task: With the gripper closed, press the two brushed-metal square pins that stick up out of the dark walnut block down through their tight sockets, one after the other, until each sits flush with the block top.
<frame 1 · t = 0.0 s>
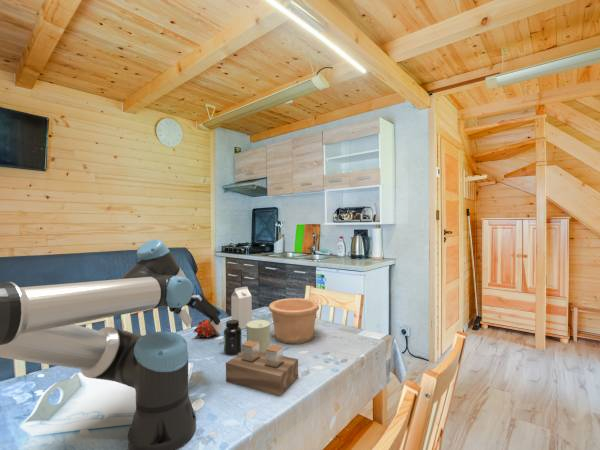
hand: (204, 326, 107), 15 cm above the table, tool tilted 35°, fingers open, 13 cm apart
socket block: (262, 379, 101), on the table
supplement bottle: (232, 352, 122), on the table
left pin: (250, 351, 103), point 8 cm above the table, slide at 5.0 cm
can: (258, 353, 121), on the table
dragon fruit: (207, 337, 138), on the table
right pin: (274, 356, 99), point 8 cm above the table, slide at 5.0 cm
milk carton: (241, 326, 151), on the table
pottery: (294, 337, 137), on the table
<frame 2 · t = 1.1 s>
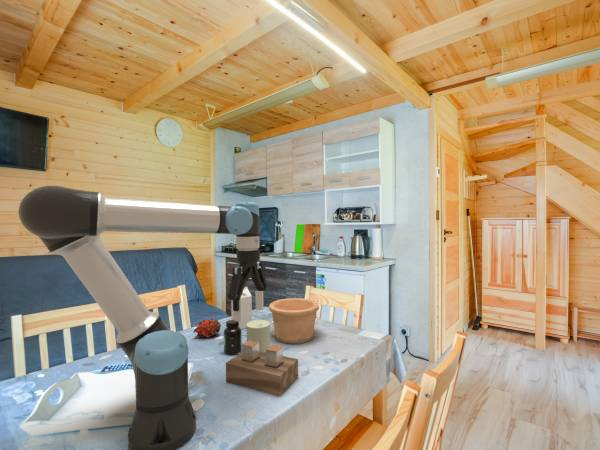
hand: (249, 314, 103), 20 cm above the table, tool pointing down, fingers open, 12 cm apart
nothing on the table moved.
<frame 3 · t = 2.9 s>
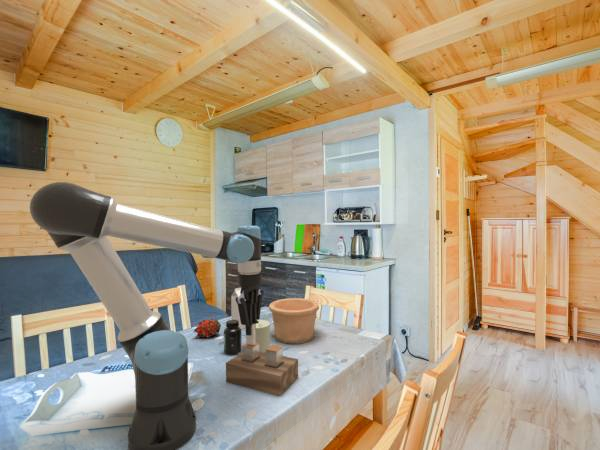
hand: (251, 343, 103), 11 cm above the table, tool pointing down, fingers closed
left pin: (250, 352, 103), point 8 cm above the table, slide at 4.6 cm, touching gripper
everything else where it was.
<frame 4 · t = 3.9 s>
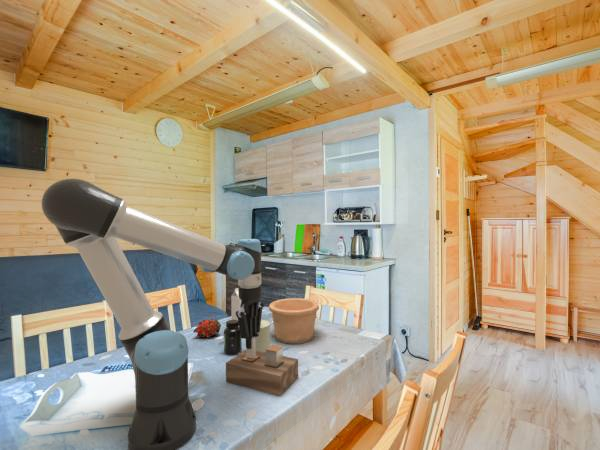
hand: (251, 356, 103), 7 cm above the table, tool pointing down, fingers closed
left pin: (250, 365, 103), point 4 cm above the table, slide at 0.3 cm, touching gripper
everything else where it was.
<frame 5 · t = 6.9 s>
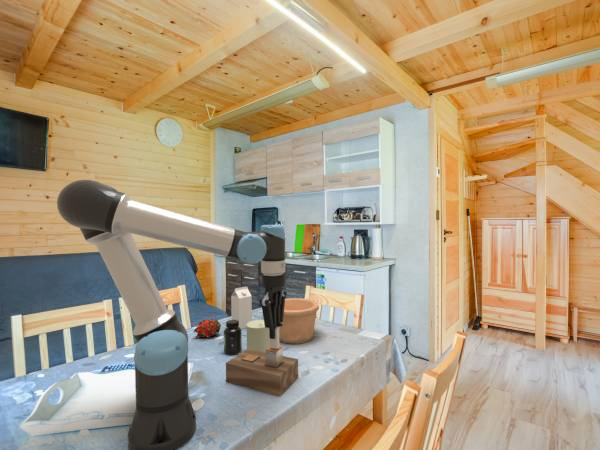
hand: (274, 347, 99), 11 cm above the table, tool pointing down, fingers closed
left pin: (250, 365, 103), point 3 cm above the table, slide at 0.2 cm
right pin: (274, 356, 99), point 8 cm above the table, slide at 5.0 cm, touching gripper
everything else where it was.
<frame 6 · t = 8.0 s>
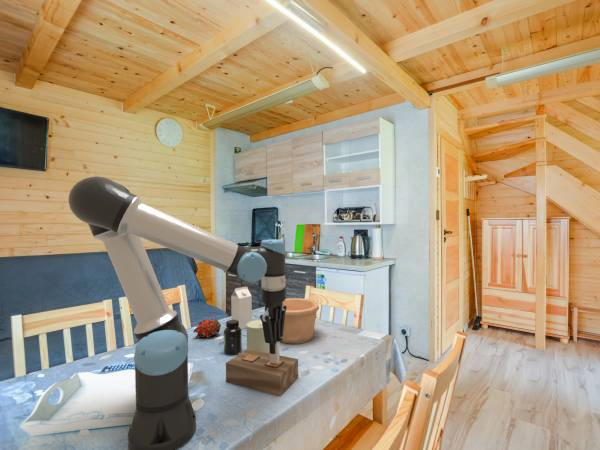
hand: (274, 362, 99), 6 cm above the table, tool pointing down, fingers closed
right pin: (274, 371, 99), point 4 cm above the table, slide at 0.3 cm, touching gripper
everything else where it was.
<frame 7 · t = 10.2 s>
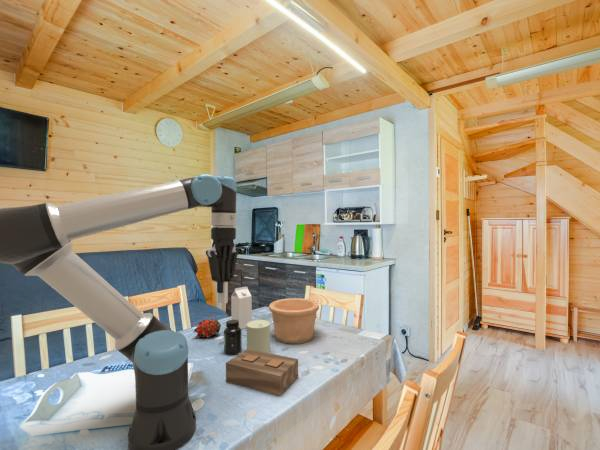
hand: (222, 302, 97), 26 cm above the table, tool pointing down, fingers closed
right pin: (274, 371, 99), point 3 cm above the table, slide at 0.2 cm
everything else where it was.
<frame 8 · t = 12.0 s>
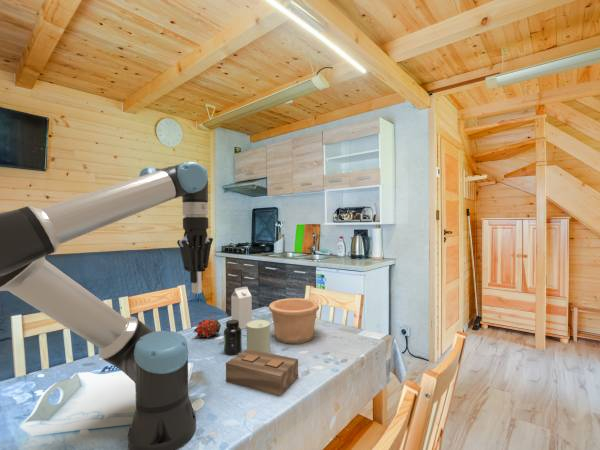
hand: (196, 292, 97), 29 cm above the table, tool pointing down, fingers closed
nothing on the table moved.
at the end: left pin slide at 0.2 cm; right pin slide at 0.2 cm; can moved 0.2 cm from its start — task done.
